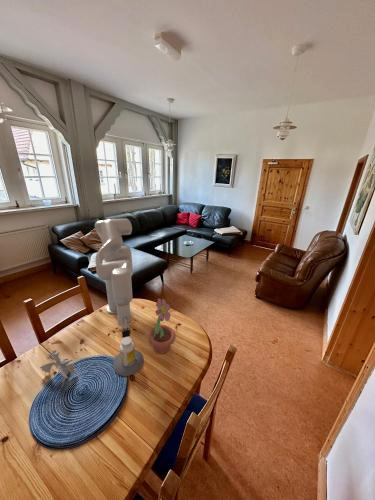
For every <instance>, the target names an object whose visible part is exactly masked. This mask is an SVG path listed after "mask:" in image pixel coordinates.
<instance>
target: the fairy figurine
mask: <svg viewBox="0 0 375 500" xmlns="http://www.w3.org/2000/svg"><path fill="white" fill-rule="evenodd" d="M59 355H60V352H59V351H57V349H54V350H52V351H51V353H48V354H47V356H46V360H50V359H51V360H53V361H51V362H48V363H45V364H43V365H41V366H40V367H39V368H40V369H41V371H42V372H44V373H45V374H46V373H48V374H51V369H52V367H53V366H55V368H56V369H57V371H58V373H59V375H62V377H63V381H62V385H61V387H63V386H64V383H65V381H66V379H67V380H69V377H68V374H70V375H69V376H71V375H73V374H75V372H76V371H77V370H78V368H75V363H72V362H74V360H73V359H69V358H61V359H60V357H59Z"/></svg>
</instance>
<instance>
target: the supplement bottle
mask: <svg viewBox="0 0 375 500" xmlns="http://www.w3.org/2000/svg"><path fill="white" fill-rule="evenodd" d="M135 350H136V347H135V343H134V342H133V340H132V338H131V336H128V337H124V338H123V337H122V339H121V341H120V345H119V353H120V357H121V363H122V365H124V366H130V365H132V364H133V363H134V362H135Z"/></svg>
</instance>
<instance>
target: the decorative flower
mask: <svg viewBox="0 0 375 500" xmlns="http://www.w3.org/2000/svg"><path fill="white" fill-rule="evenodd" d="M155 306H156V308H157V309H156V310H155V314H156V316H158V317H157V319H156V322H155V321H154V322H153V323H154V327H153V328H151V329H150V330H149V332H148V335H147V339H148V342H149V344H150V345H151V346H152V347H153V350H154V352H155V353H156V354H158V355H159V354H160V355H165V354H166V353H167V352H169V350H170V349H171V345H172V344H174V342H175V340H176V332H175V330H174V329H173V328H172V327H170V326H168V325H163V324H161V322H164V321H165V322H169V321H170V319H171V315H172V314H171V312H170V311H171V307H170V305H169V303H167V301H166V300H165V298H163V299H161V298H158V299H157V302H156V303H155Z"/></svg>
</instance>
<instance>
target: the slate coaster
mask: <svg viewBox="0 0 375 500" xmlns="http://www.w3.org/2000/svg"><path fill="white" fill-rule="evenodd" d="M143 364H144V355H143V354H142V352H141V351H139V350H138V349H135V362H134V363H133V364H132V365H130V366H124V365H122V363H121V357H120V352H119V353H117V355H116V356H115V357H114V360H113V361H112V368H114V369H113V371H114V372H115V373H116V374H117V375H118V374H119V375H118V376H120V375H122V376H121V377H128V376H132V375H134V374H136V373H137V372H139V370H141V368H142V367H143Z"/></svg>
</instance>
